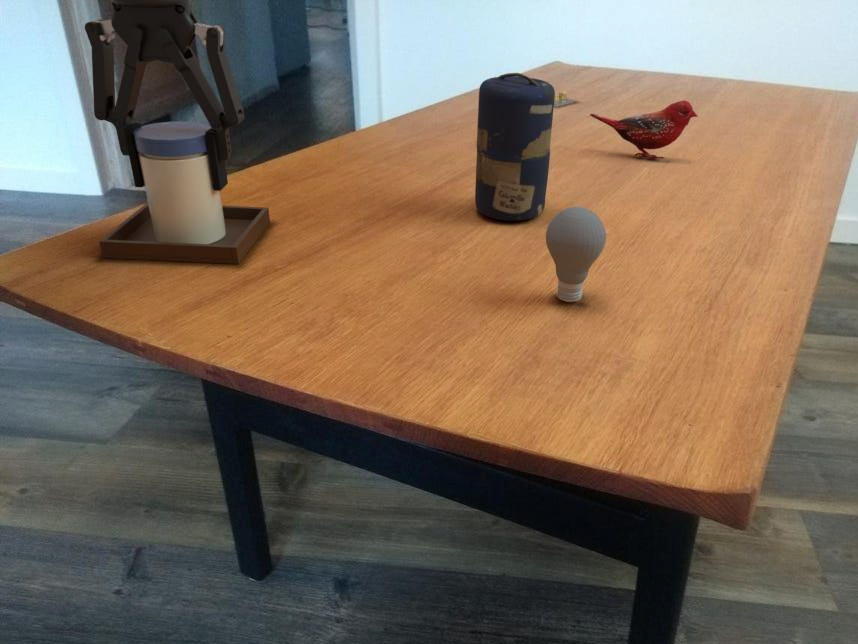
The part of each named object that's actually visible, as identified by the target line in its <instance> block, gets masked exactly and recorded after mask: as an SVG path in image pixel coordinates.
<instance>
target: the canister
mask: <svg viewBox="0 0 858 644" xmlns="http://www.w3.org/2000/svg"><path fill="white" fill-rule="evenodd" d="M478 89H479V90H478V108H477V127H476V128H477V129H476V131H477V132H476V163H475V190H474V204H475V207H476V209H477V210H478V212H480V213H481V214H482V215H484V216H486V217H488V218H491V219H493V220H494V219H495V220H500V221H506V222H507V221H510V222H515V221H526V220H530V219H534V218H536V217H538V216H539V215H541V214H542V212H544V209H545V207H546V195H547V188H548V179H549V172H550V171H549V170H550V157H551V140H552V129H553V119H554V107H555V106H554V101H555V97H556V90H555V88H554V86H553V85H552V84H551V83H550V82H548V81H545V80H542V79H538V78H535V77H529V76H527V75H525V74H523V73H519V72H508V73H503V74H500V75H499V76H494V77H490V78H487V79H485V80H483V81H482V82H481V84H480V86H479V88H478ZM554 90H555V91H554Z"/></svg>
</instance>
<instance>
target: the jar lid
mask: <svg viewBox="0 0 858 644" xmlns="http://www.w3.org/2000/svg"><path fill="white" fill-rule="evenodd" d="M210 128H212V127H211V125H210V124H205V123H202V122H195V121H163V122H162V121H161V122H154V123H150V124H145V125H141V127H139V128H137V129H135V130H134V132H133V134H134V139H135V144H136V149H137V151H138V152H140V153H142V154H146V155H151V156H161V157H175V156H187V155H194V154H199V153H202V152H206V151H208V147H207V140H206V133H205V132H206V131H208V130H209V129H210Z"/></svg>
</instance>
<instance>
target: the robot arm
mask: <svg viewBox="0 0 858 644" xmlns="http://www.w3.org/2000/svg"><path fill="white" fill-rule="evenodd" d="M110 2H111V4H112V8H113V11H112V15H111V19H106V20H103V19H96V20H92V21H88V22H86V23H85V24H84V30H85V33H86V36H87V38H88V41H89V44H90V47H91V65H92V66H91V67H92V68H91V69H92V70H91V71H92V93H93V94H92V95H93V115H94V117H95V119H97V120H98V121H105V122H108V123H110V124H111V125H112V126H114V128H115V131H116V135H117V140H118V145H119V150H120V152H121V154H122V155H123V156H126V157H127V156H129V161H130V167H131V173H132V178H133V182H134V186H135V188H144V187H145V186H144V180H143V175H142V170H141V165H140V160H139V155H138V153H139V152H138V151H137V149H136V144H135V139H134V134H133V132H134V130H135V129H137V128H139V127H142V123H141V122H133V121H135V120H136V117H134V116H135V113H136V112H135V111H136V107H137V103H138V99H139V96H140V92H141V87H142V83H143V79H144V75H145V71H146V67H147V66H148V63H149V62H150V63H151V62H154V61H159V62H163V63H171V64H173V66H174V68H175V70H176V71H177V72H178V73H180V75H181V76H182V78H183V80H184V81H185V83H186V85H187V86H188V89H189V91H190V92H191V93H192V96H193V97H194V99H195V100H196V101H195V102H197V104H198V106H199V108H200V109H201V111H202V113H203V115H204V116H205V118H206V120H207V122H208V123H209V126H210V127H212V128H210V129H209V130H208V131H206V132H205V133H206V140H207V147H208V154H209V160H210V167H211V174H212V181H213V187H214V191H220V192H221V191H223V189H224V188H225V187H226V186H228V184H229V180H228V174H227V167H226V166H227V165H226V161H228V160H229V158H231V156H232V153H233V150H232V142H231V135H230V128H232V127H236V126H237V125H239V124H241V122H243V121H244V120H245V118H246V116H245V112H244V108H243V105H242V101H241V98H240V95H239V90H238V88H237V85H236V81H235V79H234V77H235V76H234V74H233V71H232V67H231V63H230V61H229V58H228V54H227V51H226V28H225V26H224V25H221V24H215V25H210V24H205V23H200V22H198V20H197V19H196V16H195V15H194V13H193V12H192V6H191V5H192V4H191V3H192V2H191V0H110ZM116 34H117V35H118V36H119V38H120V39H121V41H123V43H124V44H125V45H126V46H127V47H126V51H125V56H124V59H123V65H124V67H123V72H122V75H121V76H122V77H121V81H120V85H119V89H118V92H117V93H118V94H117V96H116V88H115V87H116V86H115V85H116V84H115V53H114V52H115V51H114V49H115V48H114V41H115V39H116ZM196 36H198V37H199V39H200V44H201V45H202V46H203V47H204V48H205V49H206V56H207V60H208V64H209V66H210V70H211V73H212V77H213V79H214V82H215V83H214V84H215V85H216V89H217V92H218V95H219V99H220V100H219V99H218V97H217V95H216V94H215V92H214V90H213V88H212V86H211V84H210V83H209V81H208V79H207V77H206V76H205V74H204V72H203V71H202V68H201V66H200V65H199V60H198V58H197V56H196V54H195V52H194V51H193V49H192V47H191V45H192V43H193V41H194V39H195V37H196Z"/></svg>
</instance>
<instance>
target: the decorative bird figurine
mask: <svg viewBox="0 0 858 644" xmlns="http://www.w3.org/2000/svg"><path fill="white" fill-rule="evenodd" d="M589 116H591V117H592V118H594V119H596V120H597V121H599V122H602V123H604V124H605V125H607V126H609V127H611V128H612V129H613V130H615V132H616V133H617V134H618V135H619V136H620V137H621V138H622V139H623V140H625V141H627V142H629V143H630V144H632V145H633V146H635V147H636V148H637V149H638V150H639V151H640V152H637V153H635V154H634V156H638V158H645V159H646V158H647V159H650V160H656V159H657V160H659V159H661V160H662V159H663V160H665V159H666V157H664V156H657V155H656V154H650V153H649V152H647V151H646V150H658V149H663V148H665V147H668V146H669V145H671V144H672V143H673V142H675V141H677V140H678V138H679V137H680V136H681V135H682V134H683V131H684V130H685V128H686V127H687V126H689V123H690V121H691V119H692V118H698V114H697V112H695V111H694V108H693V106H692V104H691V103H690V102H689V101H687V100H679V101H676V102H673V103H671V104H669V105H668V106H667V107H665V108H663V109H661V110H659V111H655V112H650V113H643V114H638V115H633V116H629V117H626V118H622V119H619V120H617V119H612V118H608V117H607V116H606V117H605V116H602V115H598V114H595V113H590V114H589Z"/></svg>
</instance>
